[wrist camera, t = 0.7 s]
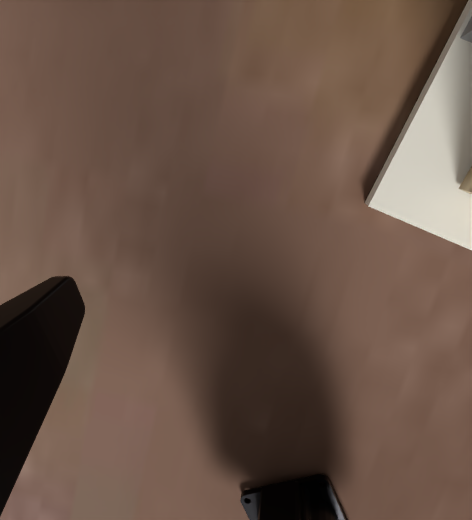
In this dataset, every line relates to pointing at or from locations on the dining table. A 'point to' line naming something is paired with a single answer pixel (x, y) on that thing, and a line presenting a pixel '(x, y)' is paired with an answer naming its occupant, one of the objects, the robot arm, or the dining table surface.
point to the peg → (467, 182)
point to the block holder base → (435, 148)
